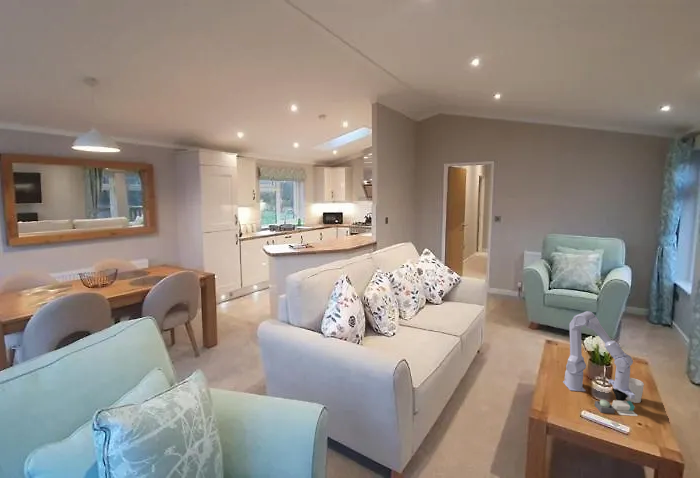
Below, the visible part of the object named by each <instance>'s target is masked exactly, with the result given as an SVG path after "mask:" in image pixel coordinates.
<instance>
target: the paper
mask: <svg viewBox="0 0 700 478" xmlns="http://www.w3.org/2000/svg"><path fill="white" fill-rule="evenodd" d="M611 406H612V404H611ZM612 407H613V406H612ZM613 408H614V407H613ZM615 412H616V413H617V414H618V415H619V416H631V417H639V416H638V414H637V413H636V412H634V410H633V411H624V410H615Z"/></svg>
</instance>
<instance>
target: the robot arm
mask: <svg viewBox="0 0 700 478" xmlns="http://www.w3.org/2000/svg"><path fill="white" fill-rule="evenodd" d="M583 327H585V329H589V330H593V331H594V333H596V335H597V336H598V337H599V338H600V340H601V341H602V342H603V343H604V348H605V349H606V351H607V352H608V353H609V355H610V356H611V358H612V359H614V360H613V362H614V366H615V375H614V379H608V384H609V385H612V391H613V393H614V396H615V400H618V401H626V398H627V397H628V396H629V398H631V399H635V394H633V393H632V391H631V390H630V389H629V379H630V378H631V377H630V376H631V366H632V365H633V362H634V361H633V358H632V356H631V355H629V354H627V353H625V351H624V350H623V349H622V347H621V345H620V344H619V343H617V341H615V340H612V339H611V337H610V336H609V334H608V333H607V332H606V330H605V329H604V327H603V326H602V325H601V323H600V321H599V318H598V317H597V316H596V315H595V314H594V313H593V312H592V311H590V310H587V311H583V312H581V313H578V314H575V315H574V316H573V318H572V319H571V321H570V322H569V327H568V328H569V357H568V359H567V363H566V365H565V368H566V370H565V372H564V380H563V381H562V383H563V384H564V385H565V386H566V388H567V389H568V390H569V391H573V392H587V391H586V389H585V388H584V387H583V385H584V384H583V382H584V381H583V380H584V370H586V367H587V363H586V362H585V357H584V356H583V353H582V352H583V351H582V328H583Z"/></svg>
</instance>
